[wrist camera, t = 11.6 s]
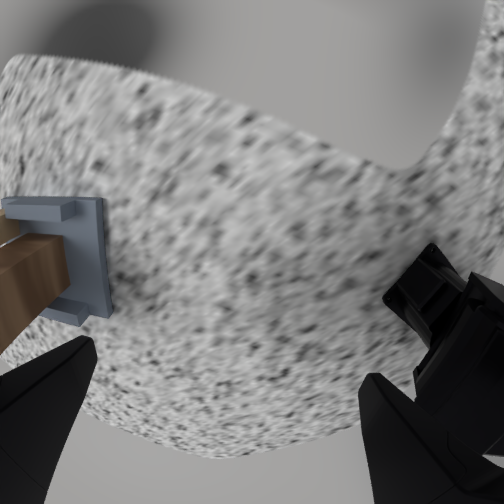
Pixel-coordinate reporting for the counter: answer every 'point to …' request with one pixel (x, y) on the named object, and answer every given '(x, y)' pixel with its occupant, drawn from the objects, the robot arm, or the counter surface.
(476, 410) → the robot arm
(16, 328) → the rail end
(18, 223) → the base with wooden posts
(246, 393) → the counter surface
